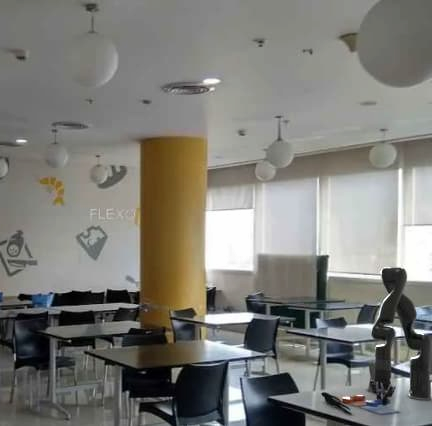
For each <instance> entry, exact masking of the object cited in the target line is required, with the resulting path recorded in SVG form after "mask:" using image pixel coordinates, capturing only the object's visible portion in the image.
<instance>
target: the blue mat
mask: <svg viewBox="0 0 432 426" xmlns="http://www.w3.org/2000/svg"><path fill="white" fill-rule="evenodd" d="M359 408H360V409H364V410H366V411H369V412H372V413H375V414H377V415H385V414H396V413H399V410H396V409H392V408H391V407H390V408H389V407H386V406H384V405H378V407H370V406H367V405H366V406H359Z"/></svg>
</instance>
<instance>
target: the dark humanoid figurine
mask: <svg viewBox="0 0 432 426" xmlns="http://www.w3.org/2000/svg"><path fill="white" fill-rule="evenodd" d="M320 396H322V397H323V398H324V401H325V403H327V404H330V405H332V406H334V407H336V408H337V409H339V410H341V411H343V412H344V413H346V414H349V415H352V413H351V412H350V411H351V408H350V407H349V406H347V405H346V404H344V403H343V402H342V401H340V399H339V398H340V397H337V396H335V395H333V394H330V393H328V392H326V391H323V392H321V395H320ZM336 399H337V400H336Z"/></svg>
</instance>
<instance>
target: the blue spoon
mask: <svg viewBox="0 0 432 426" xmlns="http://www.w3.org/2000/svg"><path fill="white" fill-rule="evenodd" d="M365 401H366V406H370V407H378V405H380V406H384V405H383V398H382V399H377V398H376V399H374V400H369V399H368V400H365ZM390 404H391V400H390V399H389V398H388V404H387V405H390Z"/></svg>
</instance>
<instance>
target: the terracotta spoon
mask: <svg viewBox="0 0 432 426" xmlns="http://www.w3.org/2000/svg"><path fill="white" fill-rule="evenodd" d="M341 398H342V401H341V403H346V404H348V403H353V401H363V400H364V401H366V396H365V395H364V394H362V395H361V394H359V395H350V396H342V397H341Z"/></svg>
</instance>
